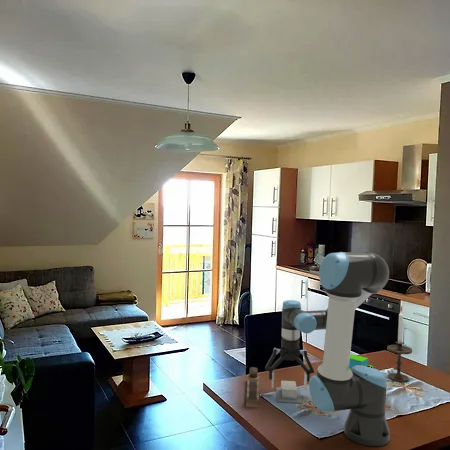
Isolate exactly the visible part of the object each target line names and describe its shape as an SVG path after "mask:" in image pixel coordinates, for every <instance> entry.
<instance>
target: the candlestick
mask: <svg viewBox="0 0 450 450" xmlns="http://www.w3.org/2000/svg"><path fill="white" fill-rule="evenodd" d="M397 327H398V329H397V341H395V344H389V345H387V348H386V349H387V350H388V351H389V352H390V353H393V354H397V361H395V364H396V365H397V366H396V367H395V369H397V370H396V372H392V373H389V374H388V376H387V378H388V379H389V380H390V381H393V382H396V383H408V382H409V381H410V378H409V376H407V375H406V374H402V373H401V370H402V365H403V362H402V361H401V360H402V355H411V354H412V353H413V349H412V347H409V346H406V345H405V344H406V343H405V342H403V332H404V329H403V328H404V314H403V305H401V306H400V313H399V314H398V326H397Z"/></svg>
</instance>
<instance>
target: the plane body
mask: <svg viewBox="0 0 450 450" xmlns="http://www.w3.org/2000/svg"><path fill="white" fill-rule="evenodd" d="M258 371H259V369H258V367H254V366H251V367H249V373H248V374H247V380H246V381H247V383H246V396H245V397H246V398H245V399H246V400H245V401H246V403H245V407H246V408H260V375H259V374H258Z"/></svg>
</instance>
